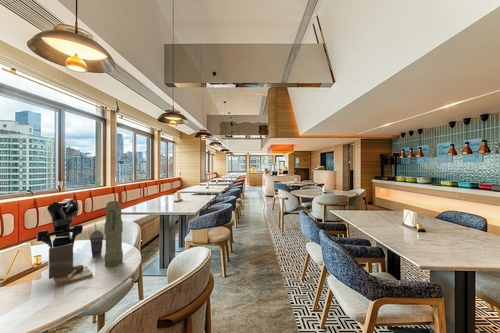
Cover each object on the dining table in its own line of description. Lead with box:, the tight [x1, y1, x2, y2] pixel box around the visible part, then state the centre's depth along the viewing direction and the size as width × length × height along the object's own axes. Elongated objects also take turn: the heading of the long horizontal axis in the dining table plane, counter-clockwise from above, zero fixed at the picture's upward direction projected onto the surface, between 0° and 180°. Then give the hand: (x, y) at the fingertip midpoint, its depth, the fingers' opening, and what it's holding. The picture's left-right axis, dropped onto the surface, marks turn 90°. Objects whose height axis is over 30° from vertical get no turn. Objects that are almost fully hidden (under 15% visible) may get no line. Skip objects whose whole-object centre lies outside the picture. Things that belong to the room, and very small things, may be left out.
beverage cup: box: [89, 223, 105, 258], centre depth 140 cm, size 7×7×20 cm
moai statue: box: [103, 200, 124, 268], centre depth 129 cm, size 9×12×35 cm
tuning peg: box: [48, 244, 84, 280], centre depth 111 cm, size 9×13×14 cm
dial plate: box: [53, 266, 94, 288], centre depth 112 cm, size 13×14×2 cm
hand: (62, 246), depth 119 cm, fingers open, 8 cm apart
